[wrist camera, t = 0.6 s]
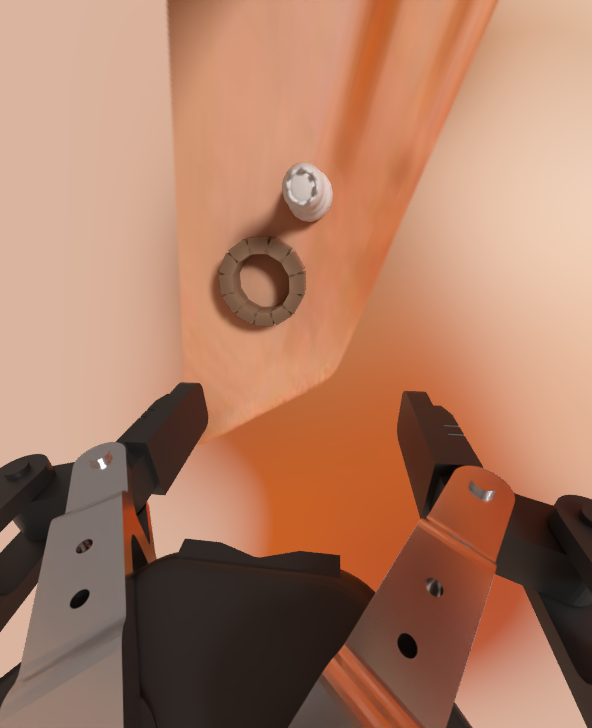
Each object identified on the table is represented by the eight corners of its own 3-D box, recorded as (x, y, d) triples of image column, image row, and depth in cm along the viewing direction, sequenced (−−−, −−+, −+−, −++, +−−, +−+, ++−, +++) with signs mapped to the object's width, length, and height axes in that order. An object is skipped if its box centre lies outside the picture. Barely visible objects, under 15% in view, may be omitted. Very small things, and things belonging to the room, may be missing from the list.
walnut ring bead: (222, 237, 31) (213, 238, 28) (305, 235, 30) (302, 236, 27) (232, 318, 34) (225, 325, 32) (306, 319, 33) (304, 326, 31)
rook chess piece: (300, 230, 29) (289, 231, 22) (279, 186, 28) (260, 172, 21) (340, 207, 28) (342, 200, 21) (320, 159, 27) (315, 134, 19)
